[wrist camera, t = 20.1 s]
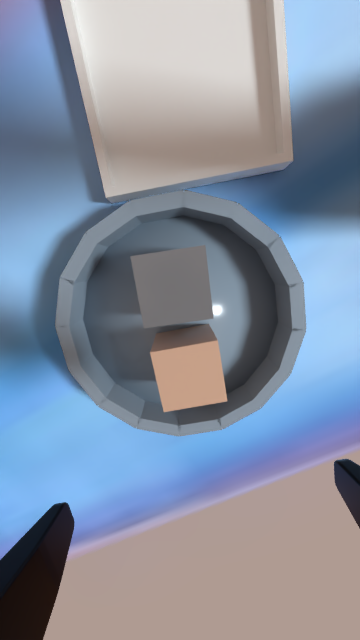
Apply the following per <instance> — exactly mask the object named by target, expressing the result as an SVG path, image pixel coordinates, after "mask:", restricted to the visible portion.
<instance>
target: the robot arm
mask: <svg viewBox="0 0 360 640" xmlns="http://www.w3.org/2000/svg"><path fill="white" fill-rule="evenodd" d="M334 475H335V483H336V486H337V489H338V491H339V492H340V494H341V496H342V498H343V499H344V501H345V503H346V505H347V507H348V508H349V510H350V512H351V514H352V515H353V517H354V519H355V521H356V523H357V524H358V526H359V528H360V466H359V465H357V464H356V463H354V462H353V461H351V460H349V459H342V460H336V461H335V462H334ZM73 530H74V518H73V516H72V513H71V510H70V507H69V505H68V503H66V502H64V503H57V504H54V505H53V506H52V507H51V508H50V509H49V510H48V511H47V512H46V513H45V514H44V515H43V516H42V517H41V518H40V519H39V520H38V521H37V522H36V523H35V525H34V526H33V527H32V528H31V529H30V530H29V531H28V532H27V533H26V534H25V535H24V536H23V537H22V538H21V539H20V540H19V541H18V542H17V543H16V544H15V545H14V546H13V547H12V548H11V549H10V551H9V552H8V553H7V554H6V555H5V556H4V557H3V558H2V559H1V560H0V640H43V637H44V634H45V631H46V628H47V625H48V622H49V619H50V616H51V613H52V610H53V607H54V603H55V600H56V597H57V594H58V590H59V586H60V582H61V579H62V575H63V571H64V567H65V563H66V559H67V555H68V551H69V546H70V542H71V538H72V534H73Z"/></svg>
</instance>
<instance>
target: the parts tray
mask: <svg viewBox="0 0 360 640" xmlns="http://www.w3.org/2000/svg"><path fill="white" fill-rule="evenodd" d="M60 2H61V6H62V11H63V15H64V19H65V24H66V28H67V32H68V37H69V41H70V45H71V50H72V54H73V58H74V63H75V67H76V71H77V76H78V80H79V84H80V88H81V93H82V97H83V101H84V106H85V110H86V114H87V119H88V123H89V127H90V132H91V136H92V140H93V145H94V149H95V153H96V158H97V162H98V166H99V171H100V175H101V179H102V183H103V188H104V192H105V196H106V198H107V199H108V200H109V201H110V202H111V203H117V202H122V201H127V200H132V199H137V198H142V197H148V196H153V195H158V194H163V193H168V192H173V191H178V190H183V189H188V188H193V187H198V186H203V185H208V184H214V183H219V182H224V181H229V180H234V179H239V178H244V177H249V176H254V175H259V174H264V173H269V172H274V171H279V170H284V169H285V168H286V167H287V166H288V165H289V164H290V163H291V162H292V161H293V145H292V129H291V112H290V96H289V80H288V64H287V48H286V32H285V15H284V0H60Z"/></svg>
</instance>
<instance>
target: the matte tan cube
mask: <svg viewBox="0 0 360 640" xmlns="http://www.w3.org/2000/svg"><path fill="white" fill-rule="evenodd" d="M150 355H151V359H152V363H153V368H154V372H155V376H156V381H157V385H158V389H159V394H160V398H161V402H162V407H163V411H164V412H168V411H174V410H180V409H186V408H192V407H197V406H203V405H209V404H215V403H221V402H226V401H227V395H226V388H225V382H224V376H223V369H222V363H221V357H220V350H219V344H218V340H217V338H216V336H215V334H214V332H213V330H212V329H211V327H210V325H209V324H205V325H199V326H194V327H188V328H183V329H177V330H172V331H167V332H161V333H156V336H155V339H154V342H153V345H152V348H151V351H150Z"/></svg>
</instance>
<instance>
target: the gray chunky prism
mask: <svg viewBox="0 0 360 640" xmlns="http://www.w3.org/2000/svg"><path fill="white" fill-rule="evenodd" d="M130 257H131V262H132V268H133V273H134V279H135V284H136V289H137V295H138V300H139V305H140V311H141V316H142V321H143V327H144V328H151V327H158V326H165V325H172V324H179V323H186V322H193V321H200V320H207V319H214V317H213V308H212V299H211V290H210V282H209V273H208V264H207V255H206V247H205V245H202V246H195V247H189V248H182V249H175V250H169V251H162V252H155V253H149V254H142V255H135V256H130Z"/></svg>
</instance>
